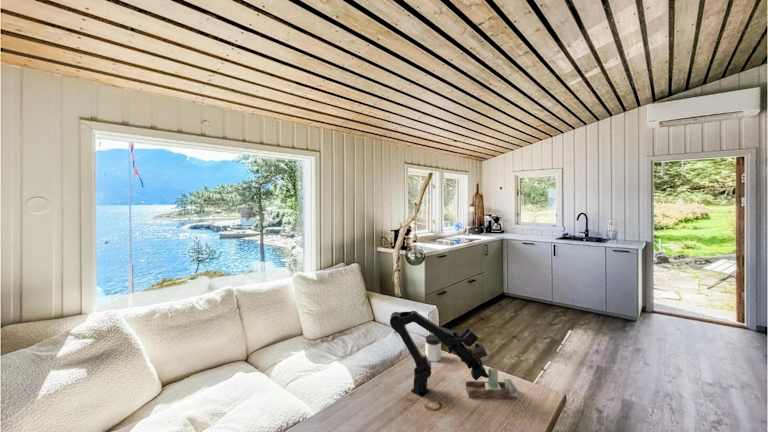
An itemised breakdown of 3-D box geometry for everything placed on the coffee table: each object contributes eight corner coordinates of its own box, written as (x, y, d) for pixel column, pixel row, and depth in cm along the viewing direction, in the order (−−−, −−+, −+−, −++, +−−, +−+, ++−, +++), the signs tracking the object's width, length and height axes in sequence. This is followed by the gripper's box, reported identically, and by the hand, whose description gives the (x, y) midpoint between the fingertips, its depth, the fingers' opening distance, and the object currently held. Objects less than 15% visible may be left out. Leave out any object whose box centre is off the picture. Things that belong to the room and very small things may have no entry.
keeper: (487, 393, 144) (487, 372, 144) (485, 386, 149) (485, 367, 149) (501, 393, 144) (501, 373, 144) (498, 387, 149) (498, 367, 149)
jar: (443, 361, 178) (442, 339, 178) (429, 362, 176) (429, 341, 176) (436, 354, 187) (436, 333, 187) (423, 355, 185) (423, 335, 185)
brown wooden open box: (468, 398, 143) (468, 387, 143) (465, 388, 151) (465, 377, 151) (516, 399, 142) (517, 388, 142) (511, 389, 150) (511, 379, 150)
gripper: (480, 349, 137) (506, 375, 137) (471, 332, 156) (495, 355, 155) (461, 367, 138) (488, 393, 137) (455, 348, 157) (478, 371, 156)
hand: (487, 377), depth 147 cm, fingers closed, pressing on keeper
